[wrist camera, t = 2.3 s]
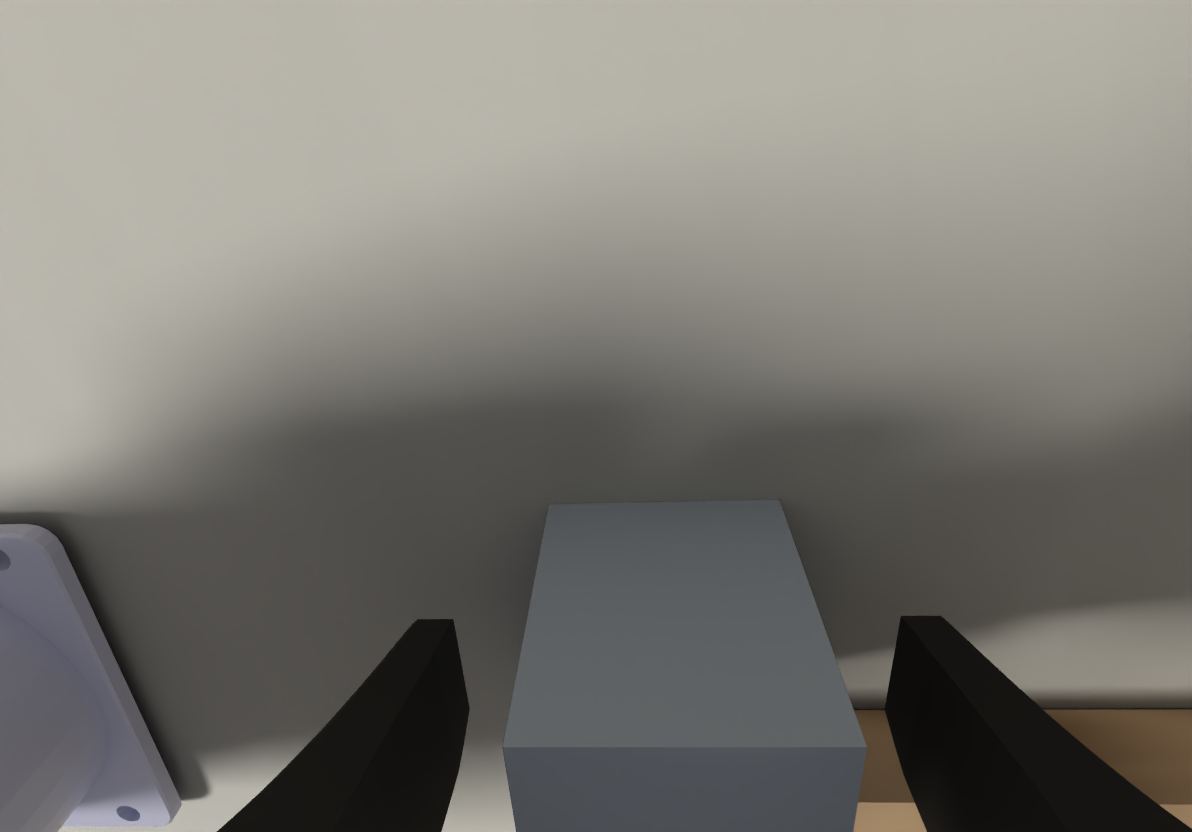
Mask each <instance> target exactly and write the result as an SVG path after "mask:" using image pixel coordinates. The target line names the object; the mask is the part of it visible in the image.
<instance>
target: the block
mask: <svg viewBox="0 0 1192 832" xmlns="http://www.w3.org/2000/svg"><path fill="white" fill-rule="evenodd" d="M866 750H867V746H866V743H865V740H864V737H863V734H862V732H861V729H860V726H859V723H858V720H857V717H856V715H855V712H854V709H853V706H852V703H851V701H850V698H849V695H848V692H847V689H846V686H845V684H844V681H843V678H842V675H841V672H840V670H839V667H838V664H837V661H836V658H835V655H834V653H833V650H832V647H831V644H830V641H829V639H828V636H827V633H826V630H825V627H824V624H823V622H822V619H821V616H820V613H819V610H818V608H817V605H816V602H815V599H814V596H813V593H812V591H811V588H810V585H809V582H808V579H807V577H806V574H805V571H804V568H803V565H802V562H801V560H800V557H799V554H798V551H797V548H796V546H795V543H794V540H793V537H792V534H791V531H790V529H789V526H788V523H787V520H786V517H785V515H784V512H783V509H782V506H781V503H780V500H779V499H764V500H719V501H673V502H627V503H582V504H549V506H548V511H547V517H546V522H545V527H544V532H543V538H542V543H541V548H540V553H539V559H538V564H537V569H536V574H535V580H534V585H533V590H532V595H531V601H530V606H529V611H528V616H527V622H526V627H525V632H524V637H523V643H522V648H521V653H520V658H519V663H518V669H517V674H516V679H515V684H514V690H513V695H512V700H511V705H510V711H509V716H508V721H507V726H506V732H505V737H504V742H503V753H504V759H505V766H506V772H507V778H508V784H509V790H510V796H511V803H512V809H513V815H514V821H515V827H516V832H853V830H854V824H855V818H856V812H857V806H858V799H859V793H860V787H861V781H862V775H863V769H864V763H865V756H866Z"/></svg>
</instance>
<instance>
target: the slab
mask: <svg viewBox="0 0 1192 832" xmlns="http://www.w3.org/2000/svg"><path fill="white" fill-rule="evenodd" d="M1044 711H1045V712H1046V713H1047V714H1048V715H1050V716H1051V717H1052V718H1053V719H1054V720H1055V721H1056V722H1058V723H1059V724H1060V725H1061V726H1062V727H1063V728H1065V729H1066V730H1067V731H1068V732H1069V733H1070V734H1072V735H1073V736H1074V737H1075V738H1076V739H1078V740H1079V741H1080V742H1081V743H1082V744H1083V745H1085V746H1086V747H1087V748H1088V749H1089V750H1091V751H1092V752H1093V753H1094V754H1096V755H1097V756H1098V757H1099V758H1100V759H1102V760H1103V761H1104V762H1105V763H1107V764H1108V765H1109V766H1110V767H1112V768H1113V769H1114V770H1115V771H1117V772H1118V773H1119V774H1120V775H1122V776H1123V777H1124V778H1125V779H1126V780H1128V781H1129V782H1130V783H1131V784H1133V785H1134V786H1135V787H1136V788H1138V789H1139V790H1140V791H1142V792H1143V793H1144V794H1146V795H1147V796H1148V797H1149V798H1151V799H1152V800H1153V801H1155V802H1156V803H1157V804H1159V805H1160V806H1161V807H1163V808H1164V809H1165V810H1167V811H1168V812H1169V813H1171V814H1172V815H1173V816H1175V817H1176V818H1178V819H1179V820H1180V821H1182V822H1183V823H1185V824H1186V825H1187V826H1189V827H1190V828H1191V829H1192V709H1173V710H1044ZM854 712H855V715H856V717H857V720H858V723H859V726H860V729H861V732H862V734H863V737H864V740H865V743H866V746H867V750H866V756H865V763H864V769H863V775H862V781H861V787H860V793H859V799H858V806H857V812H856V818H855V824H854V830H853V832H927V831H926V828H925V826H924V824H923V821H922V819H921V816H920V814H919V812H918V809H917V807H916V804H915V802H914V799H913V797H912V795H911V792H910V790H909V787H908V785H907V782H906V780H905V777H904V775H903V772H902V768H901V765H900V762H899V758H898V755H897V752H896V748H895V745H894V741H893V738H892V734H891V731H890V727H889V723H888V720H887V716H886V713H885V710H854Z"/></svg>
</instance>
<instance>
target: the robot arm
mask: <svg viewBox="0 0 1192 832" xmlns="http://www.w3.org/2000/svg"><path fill="white" fill-rule="evenodd" d="M885 713H886V716H887V720H888V723H889V727H890V731H891V734H892V738H893V741H894V745H895V748H896V752H897V755H898V758H899V762H900V765H901V768H902V772H903V775H904V777H905V780H906V782H907V785H908V787H909V790H910V792H911V795H912V797H913V799H914V802H915V804H916V807H917V809H918V812H919V814H920V816H921V819H922V821H923V824H924V826H925V828H926V831H927V832H1192V829H1191V828H1190V827H1189V826H1187V825H1186V824H1185V823H1183V822H1182V821H1180V820H1179V819H1178V818H1176V817H1175V816H1173V815H1172V814H1171V813H1169V812H1168V811H1167V810H1165V809H1164V808H1163V807H1161V806H1160V805H1159V804H1157V803H1156V802H1155V801H1153V800H1152V799H1151V798H1149V797H1148V796H1147V795H1146V794H1144V793H1143V792H1142V791H1140V790H1139V789H1138V788H1136V787H1135V786H1134V785H1133V784H1131V783H1130V782H1129V781H1128V780H1126V779H1125V778H1124V777H1123V776H1122V775H1120V774H1119V773H1118V772H1117V771H1115V770H1114V769H1113V768H1112V767H1110V766H1109V765H1108V764H1107V763H1105V762H1104V761H1103V760H1102V759H1100V758H1099V757H1098V756H1097V755H1096V754H1094V753H1093V752H1092V751H1091V750H1089V749H1088V748H1087V747H1086V746H1085V745H1083V744H1082V743H1081V742H1080V741H1079V740H1078V739H1076V738H1075V737H1074V736H1073V735H1072V734H1070V733H1069V732H1068V731H1067V730H1066V729H1065V728H1063V727H1062V726H1061V725H1060V724H1059V723H1058V722H1056V721H1055V720H1054V719H1053V718H1052V717H1051V716H1050V715H1048V714H1047V713H1046V712H1045V711H1044V710H1043V709H1042V708H1041V707H1039V706H1038V705H1037V704H1036V703H1035V702H1034V701H1033V700H1032V699H1030V698H1029V697H1028V696H1027V695H1026V694H1025V693H1024V692H1023V691H1022V690H1021V689H1019V688H1018V687H1017V686H1016V685H1015V684H1014V683H1013V682H1012V681H1011V680H1010V679H1008V678H1007V677H1006V676H1005V675H1004V674H1003V673H1002V672H1001V671H1000V670H999V669H998V668H997V667H995V666H994V665H993V664H992V663H991V662H990V661H989V660H988V659H987V658H986V657H985V656H984V655H983V654H982V653H980V652H979V651H978V650H977V649H976V648H975V647H974V646H973V645H972V644H971V643H970V642H969V641H968V640H967V639H966V638H964V637H963V636H962V635H961V634H960V633H959V632H958V631H957V630H956V629H955V628H954V627H953V626H952V625H951V624H949V623H948V622H947V621H946V620H945V619H944V618H943V617H942V616H901V619H900V625H899V630H898V636H897V642H896V647H895V653H894V659H893V665H892V670H891V676H890V682H889V688H888V693H887V699H886V705H885ZM468 715H469V703H468V698H467V692H466V687H465V681H464V676H463V670H462V665H461V659H460V654H459V648H458V643H457V637H456V632H455V626H454V621H453V619H417V620H416V621H415V622H414V623H413V624H412V625H411V626H410V628H409V629H408V630H407V631H406V632H405V634H404V635H403V636H402V637H401V638H400V640H399V641H398V642H397V643H396V644H395V646H394V647H393V648H392V649H391V650H390V652H389V653H388V654H387V655H386V657H385V658H384V659H383V660H382V661H381V663H380V664H379V665H378V666H377V667H376V668H375V670H374V671H373V672H372V673H371V674H370V676H369V677H368V678H367V679H366V680H365V681H364V683H363V684H362V685H361V686H360V687H359V688H358V690H357V691H356V692H355V693H354V694H353V695H352V696H351V697H350V699H349V700H348V701H347V702H346V703H345V704H344V705H343V707H342V708H341V709H340V710H339V711H338V712H337V713H336V714H335V716H334V717H333V718H332V719H331V720H330V721H329V722H328V723H327V724H326V726H325V727H324V728H323V729H322V730H321V731H320V732H319V733H318V734H317V735H316V736H315V737H314V738H313V739H312V740H311V741H310V742H309V743H308V745H307V746H306V747H305V748H304V749H303V750H302V751H301V752H300V753H299V754H298V755H297V756H296V757H295V758H294V759H293V760H292V761H291V762H290V763H289V764H288V765H287V766H286V767H285V768H284V769H283V770H282V771H281V772H280V773H279V774H278V775H277V776H276V777H275V778H274V779H273V780H272V781H271V782H270V783H269V784H268V785H267V786H266V787H265V788H264V789H263V790H262V791H261V792H260V793H259V794H258V795H257V796H256V797H255V798H254V799H252V800H251V801H250V802H249V803H248V804H247V805H246V806H245V807H244V808H243V809H242V810H241V811H239V812H238V813H237V814H236V815H235V816H234V817H233V818H232V819H231V820H229V821H228V822H227V823H226V824H225V825H224V826H223V827H222V828H221V829H219V830H218V831H217V832H441V831H442V827H443V824H444V821H445V817H446V814H447V810H448V807H449V803H450V800H451V796H452V793H453V790H454V786H455V782H456V779H457V775H458V772H459V767H460V761H461V756H462V751H463V745H464V739H465V733H466V727H467V721H468ZM180 807H181V799H180V797H179V795H178V793H177V791H176V788H175V786H174V784H173V782H172V780H171V778H170V775H169V773H168V771H167V769H166V767H165V765H164V763H163V760H162V758H161V756H160V754H159V752H158V750H157V748H156V745H155V743H154V741H153V739H152V737H151V735H150V732H149V730H148V728H147V726H146V724H145V722H144V720H143V717H142V715H141V713H140V711H139V709H138V707H137V705H136V702H135V700H134V698H133V696H132V694H131V692H130V689H129V687H128V685H127V683H126V681H125V679H124V677H123V674H122V672H121V670H120V668H119V666H118V664H117V662H116V659H115V657H114V655H113V653H112V651H111V649H110V646H109V644H108V642H107V640H106V638H105V636H104V634H103V631H102V629H101V627H100V625H99V623H98V621H97V619H96V616H95V614H94V612H93V610H92V608H91V606H90V603H89V601H88V599H87V597H86V595H85V593H84V591H83V588H82V586H81V584H80V582H79V580H78V578H77V576H76V573H75V571H74V569H73V567H72V565H71V563H70V560H69V558H68V556H67V554H66V552H65V550H64V548H63V545H62V544H61V542H60V541H59V539H58V538H57V537H56V536H55V535H54V534H53V533H51V532H50V531H49V530H47V529H45V528H42V527H40V526H37V525H31V524H0V832H58V831H59V829H60V828H61V827H62V826H112V827H159V826H165V825H167V824H169V823H171V822H172V820H173V819H174V817H175V815H176V814H177V812H178V811H179V809H180Z"/></svg>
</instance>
